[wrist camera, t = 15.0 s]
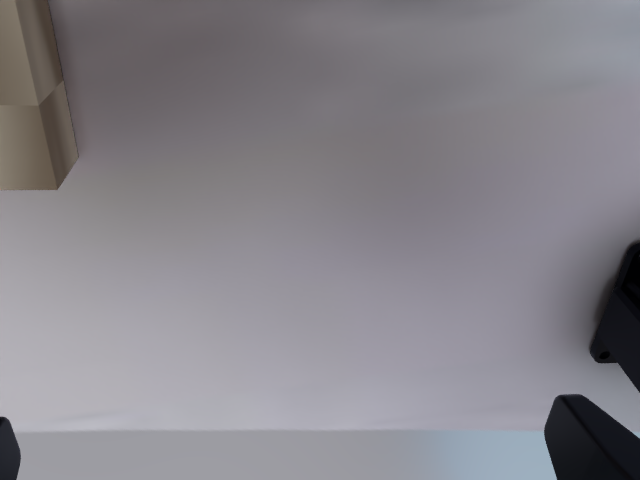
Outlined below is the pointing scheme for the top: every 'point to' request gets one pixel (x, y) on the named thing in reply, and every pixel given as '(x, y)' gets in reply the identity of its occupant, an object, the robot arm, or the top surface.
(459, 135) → the top surface
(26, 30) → the socket block
